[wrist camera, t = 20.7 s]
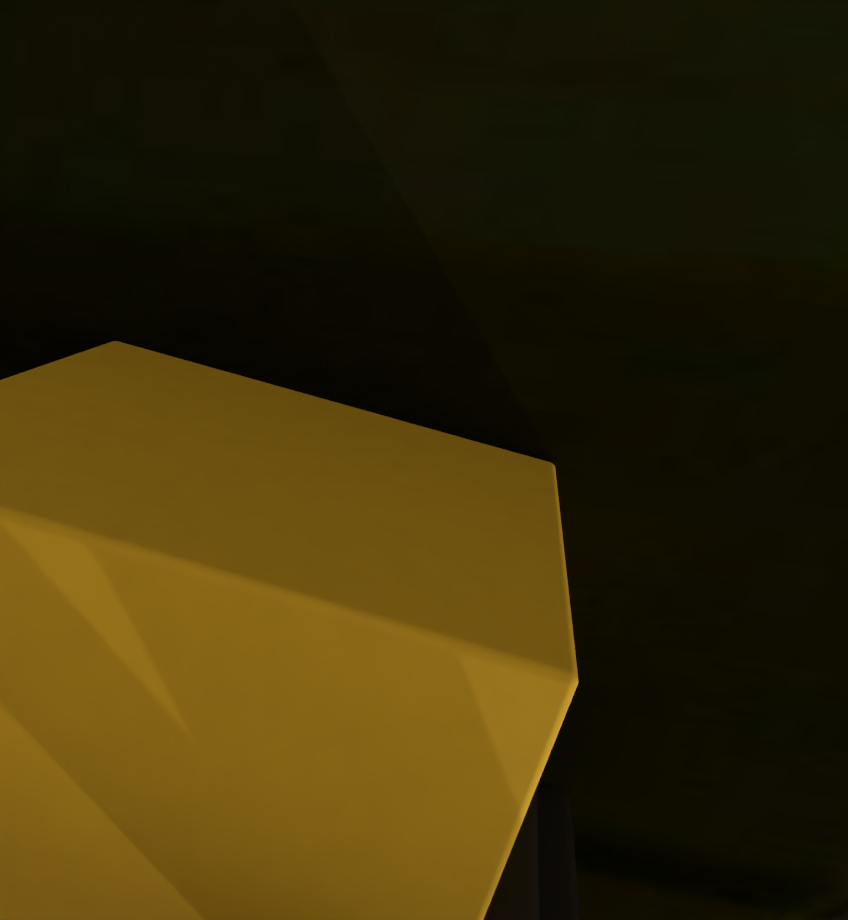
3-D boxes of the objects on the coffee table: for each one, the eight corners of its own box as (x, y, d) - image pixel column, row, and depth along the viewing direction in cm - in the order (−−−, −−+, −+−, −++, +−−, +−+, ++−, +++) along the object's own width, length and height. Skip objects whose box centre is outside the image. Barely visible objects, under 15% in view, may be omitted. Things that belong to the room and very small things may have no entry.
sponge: (114, 337, 9) (-214, 447, 5) (556, 461, 9) (582, 680, 5) (69, 830, 13) (-155, 1141, 9) (397, 931, 12) (333, 1301, 8)
